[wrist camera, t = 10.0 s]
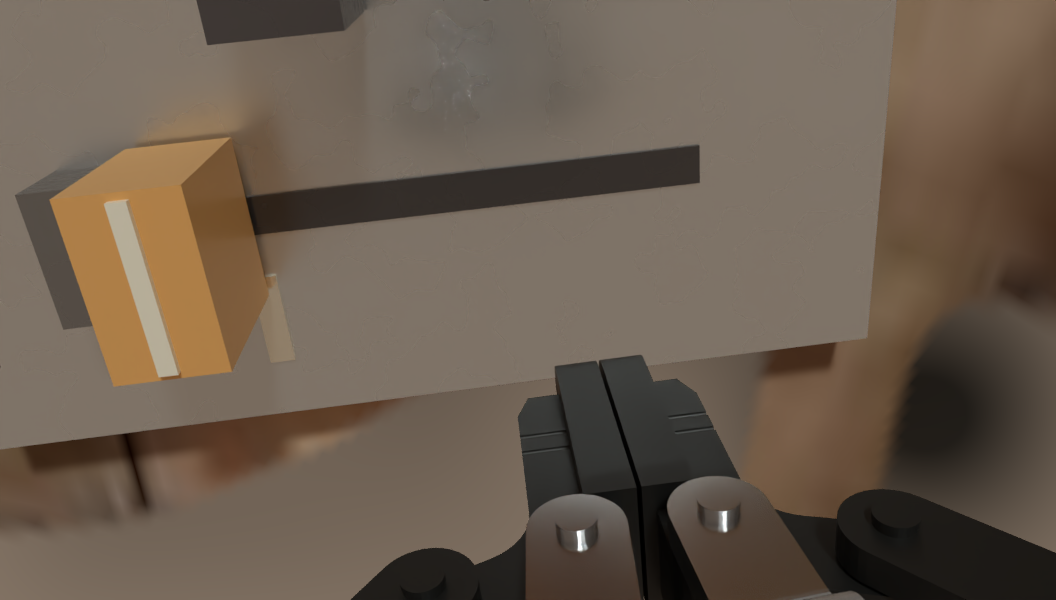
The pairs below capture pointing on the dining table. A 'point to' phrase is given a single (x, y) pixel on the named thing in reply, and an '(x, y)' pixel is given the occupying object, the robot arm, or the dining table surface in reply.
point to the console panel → (451, 188)
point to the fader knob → (165, 259)
